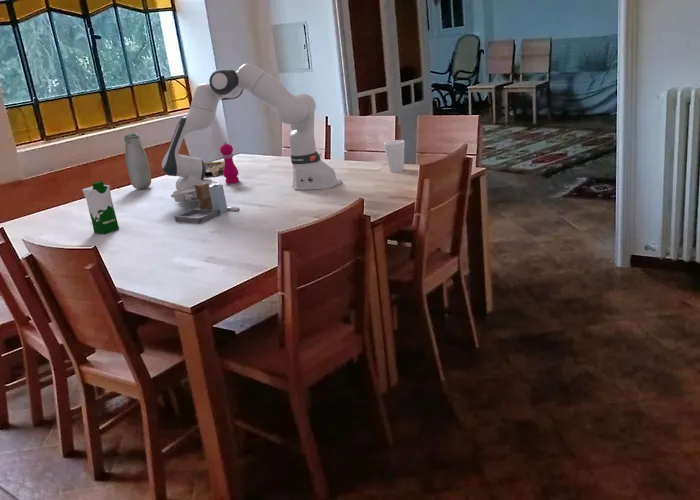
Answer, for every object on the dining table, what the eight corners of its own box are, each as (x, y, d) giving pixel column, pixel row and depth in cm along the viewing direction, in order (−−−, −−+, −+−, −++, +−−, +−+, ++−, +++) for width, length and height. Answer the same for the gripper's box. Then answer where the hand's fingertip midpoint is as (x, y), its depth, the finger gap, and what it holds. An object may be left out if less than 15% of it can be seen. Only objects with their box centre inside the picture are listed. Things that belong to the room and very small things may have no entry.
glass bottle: (141, 191, 337) (128, 135, 328) (128, 190, 343) (115, 135, 334) (157, 186, 345) (145, 130, 336) (144, 185, 351) (132, 130, 342)
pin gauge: (239, 207, 278) (236, 207, 277) (239, 211, 279) (237, 211, 277) (221, 206, 284) (218, 206, 283) (221, 210, 284) (219, 210, 283)
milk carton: (103, 235, 268) (90, 185, 262) (90, 233, 274) (78, 184, 267) (122, 228, 274) (110, 179, 268) (110, 226, 280) (98, 178, 273)
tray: (220, 215, 275) (219, 210, 274) (200, 223, 267) (199, 218, 266) (195, 213, 283) (194, 208, 282) (175, 221, 274) (174, 216, 274)
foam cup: (384, 173, 308) (381, 145, 304) (389, 168, 316) (386, 140, 312) (404, 172, 305) (402, 143, 301) (409, 167, 314) (406, 139, 309)
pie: (180, 174, 370) (178, 165, 368) (229, 165, 380) (227, 156, 378) (191, 182, 345) (190, 172, 344) (244, 172, 355) (242, 162, 354)
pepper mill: (238, 182, 329) (231, 141, 322) (223, 184, 329) (215, 143, 323) (241, 179, 335) (233, 138, 329) (226, 181, 336) (218, 140, 329)
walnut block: (213, 208, 287) (208, 182, 283) (206, 211, 284) (201, 185, 280) (206, 208, 289) (201, 182, 286) (199, 210, 286) (194, 184, 283)
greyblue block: (227, 211, 280) (222, 184, 276) (220, 213, 277) (215, 187, 273) (220, 210, 282) (215, 184, 279) (213, 213, 279) (208, 186, 275)
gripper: (168, 188, 293) (176, 193, 281) (213, 177, 301) (224, 182, 290) (171, 202, 295) (179, 208, 283) (216, 191, 303) (226, 196, 292)
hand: (202, 195), depth 286 cm, fingers open, 8 cm apart
